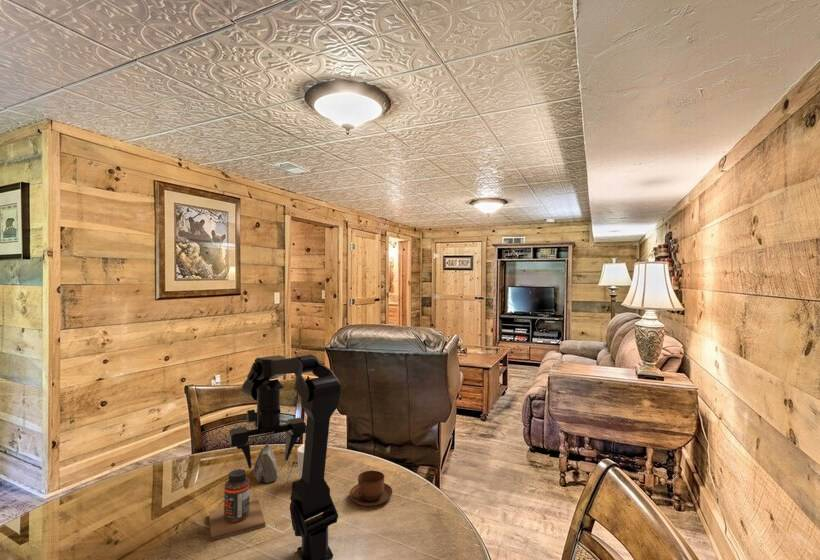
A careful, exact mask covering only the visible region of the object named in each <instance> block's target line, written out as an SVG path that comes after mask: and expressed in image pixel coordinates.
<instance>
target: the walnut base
mask: <svg viewBox="0 0 820 560" xmlns="http://www.w3.org/2000/svg"><path fill="white" fill-rule="evenodd" d="M264 517H265V516H264V514H263V510H262V508H261V504H260V501H259V500H258V499H257V500H252V501H250V505H249V515H248V517H247V518H245V519H244V520H242V521H239V522H234V523H231V522H227V521H226V520H225V519H224V507H222V508H219V509H215V510H211V511H209V513H208V518H209V519H208V520H209V528H210V529H209V530H210V540H211V542H214V541H218V540H221V539H225V538H228V537H231V536H236V535H239V534H242V533H243V534H244V533H248V532H251V531H254V530H255V531H256V530H258V529H263V528H266V521H265V518H264Z"/></svg>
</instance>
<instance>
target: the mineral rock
mask: <svg viewBox="0 0 820 560" xmlns="http://www.w3.org/2000/svg"><path fill="white" fill-rule="evenodd" d="M252 473H253V474H252V475H253V476H254V478H255V479H256V481H257V482H258V484H263V483H267V484H270V483H272V482H274V481H277V479H279V477H280V476H279V471H278V464H277V459H276V456H275V454H274V450H273V449H272V448H271V447H270V445H269V443H266V444H265V445H264V446H263V447H262V448H261V449H260V451H259V452H258V456H257V458H256V460H255V462H254V465H253V472H252Z"/></svg>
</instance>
